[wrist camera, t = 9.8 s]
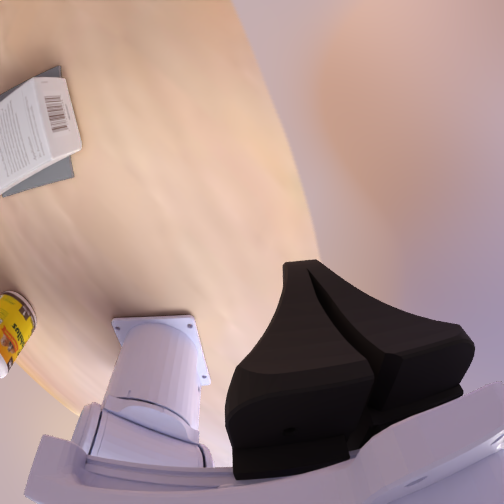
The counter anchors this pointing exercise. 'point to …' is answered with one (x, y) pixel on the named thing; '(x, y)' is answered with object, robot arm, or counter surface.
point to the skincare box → (36, 129)
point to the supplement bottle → (14, 328)
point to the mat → (52, 172)
